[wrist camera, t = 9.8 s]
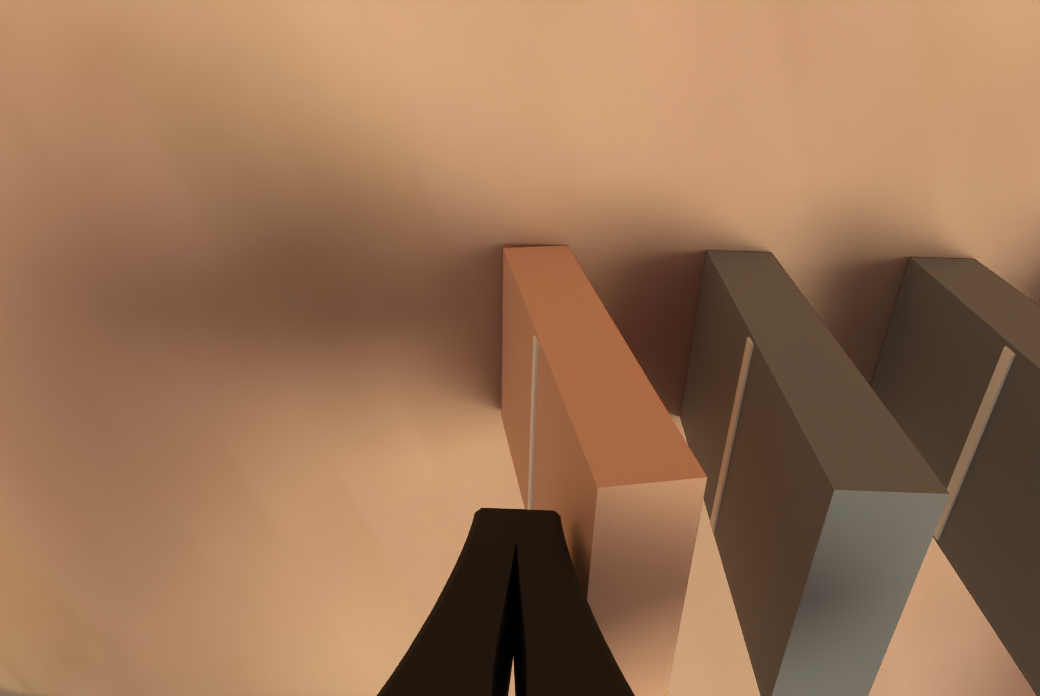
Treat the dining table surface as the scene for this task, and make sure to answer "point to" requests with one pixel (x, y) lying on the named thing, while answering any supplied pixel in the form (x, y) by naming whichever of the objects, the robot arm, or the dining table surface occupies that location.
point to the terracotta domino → (599, 458)
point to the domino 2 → (975, 431)
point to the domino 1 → (801, 482)
